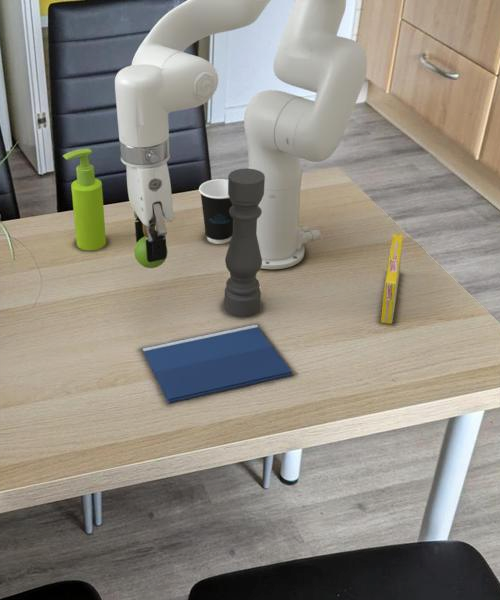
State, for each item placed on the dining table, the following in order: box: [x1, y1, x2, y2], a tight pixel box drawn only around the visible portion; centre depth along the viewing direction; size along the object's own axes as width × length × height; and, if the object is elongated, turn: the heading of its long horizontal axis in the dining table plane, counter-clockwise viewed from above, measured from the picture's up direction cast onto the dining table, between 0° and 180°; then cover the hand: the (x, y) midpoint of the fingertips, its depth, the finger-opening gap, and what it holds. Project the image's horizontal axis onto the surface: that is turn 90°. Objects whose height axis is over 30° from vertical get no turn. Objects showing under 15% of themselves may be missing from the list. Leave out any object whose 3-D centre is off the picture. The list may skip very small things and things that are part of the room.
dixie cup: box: [198, 178, 233, 245], centre depth 162 cm, size 8×8×11 cm
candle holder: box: [223, 167, 265, 318], centre depth 138 cm, size 6×6×25 cm
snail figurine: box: [133, 218, 168, 269], centre depth 135 cm, size 5×6×12 cm
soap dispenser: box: [62, 147, 107, 252], centre depth 161 cm, size 6×7×20 cm
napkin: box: [141, 323, 293, 404], centre depth 132 cm, size 20×14×1 cm
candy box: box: [380, 233, 404, 325], centre depth 142 cm, size 16×2×8 cm, turn 161°
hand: (151, 249), depth 136 cm, fingers closed on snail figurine, 5 cm apart
